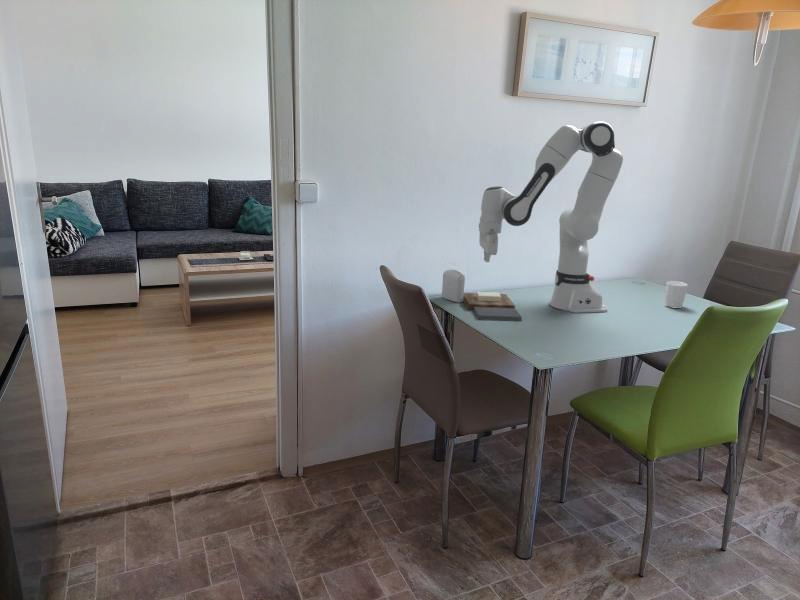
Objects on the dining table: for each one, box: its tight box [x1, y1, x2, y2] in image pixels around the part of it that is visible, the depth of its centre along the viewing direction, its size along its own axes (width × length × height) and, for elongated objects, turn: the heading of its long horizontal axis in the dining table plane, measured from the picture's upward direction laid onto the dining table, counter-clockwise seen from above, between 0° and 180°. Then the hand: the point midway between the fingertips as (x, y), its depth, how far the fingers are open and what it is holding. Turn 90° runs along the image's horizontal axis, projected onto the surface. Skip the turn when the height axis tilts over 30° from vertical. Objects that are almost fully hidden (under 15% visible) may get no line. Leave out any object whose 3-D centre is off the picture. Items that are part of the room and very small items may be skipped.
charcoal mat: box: [473, 307, 523, 322], centre depth 219 cm, size 16×11×2 cm
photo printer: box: [441, 269, 466, 304], centre depth 236 cm, size 10×4×12 cm, turn 38°
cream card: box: [475, 291, 501, 301], centre depth 231 cm, size 9×6×2 cm, turn 92°
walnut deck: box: [463, 292, 516, 311], centre depth 232 cm, size 18×16×2 cm
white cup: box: [664, 280, 689, 308], centre depth 240 cm, size 8×8×10 cm
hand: (486, 261), depth 235 cm, fingers closed
